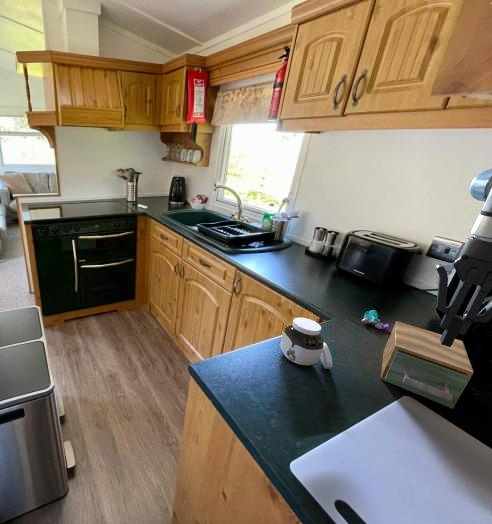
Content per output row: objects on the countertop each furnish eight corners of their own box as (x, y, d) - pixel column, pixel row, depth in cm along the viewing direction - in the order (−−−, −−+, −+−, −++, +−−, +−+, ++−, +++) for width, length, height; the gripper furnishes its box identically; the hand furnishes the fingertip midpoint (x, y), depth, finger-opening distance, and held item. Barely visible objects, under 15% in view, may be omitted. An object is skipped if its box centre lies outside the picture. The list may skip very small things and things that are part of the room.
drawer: (455, 425, 63) (474, 393, 60) (383, 394, 70) (396, 364, 67) (444, 375, 79) (459, 347, 76) (386, 353, 86) (397, 328, 83)
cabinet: (453, 408, 68) (473, 372, 65) (380, 379, 77) (395, 345, 73) (445, 373, 81) (462, 341, 77) (383, 351, 89) (396, 320, 85)
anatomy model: (380, 321, 97) (394, 316, 99) (357, 310, 104) (370, 306, 106) (377, 334, 99) (390, 329, 101) (354, 322, 106) (367, 318, 108)
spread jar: (273, 349, 86) (282, 315, 82) (305, 345, 89) (315, 312, 85) (303, 377, 75) (315, 340, 71) (338, 372, 78) (351, 336, 74)
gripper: (452, 235, 56) (406, 337, 65) (560, 252, 49) (492, 365, 57) (448, 230, 62) (406, 325, 70) (544, 244, 54) (484, 349, 62)
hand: (445, 343), depth 63 cm, fingers closed
